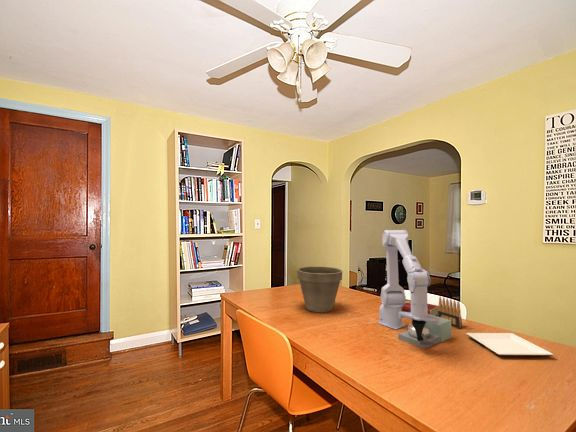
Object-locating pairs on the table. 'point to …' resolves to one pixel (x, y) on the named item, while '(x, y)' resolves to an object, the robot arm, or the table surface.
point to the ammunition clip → (450, 312)
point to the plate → (508, 344)
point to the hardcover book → (431, 308)
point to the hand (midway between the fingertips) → (419, 340)
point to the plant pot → (319, 287)
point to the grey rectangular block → (431, 333)
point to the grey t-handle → (424, 334)
